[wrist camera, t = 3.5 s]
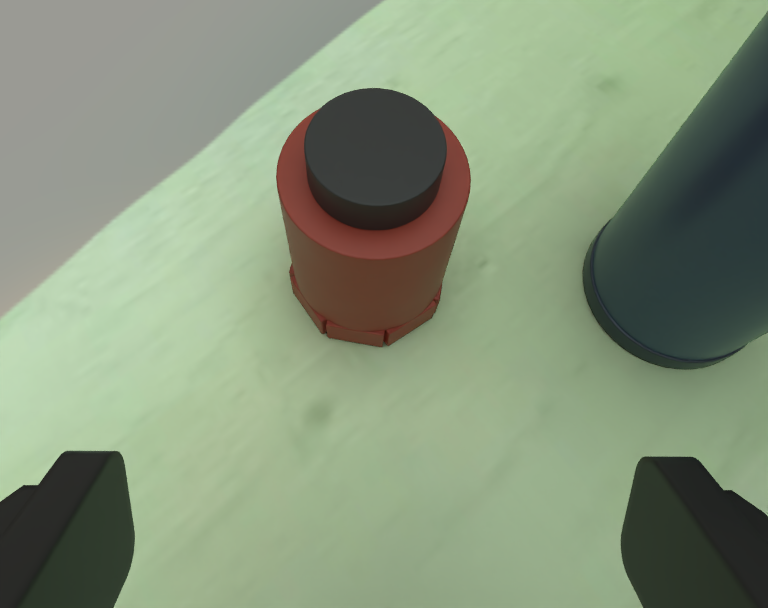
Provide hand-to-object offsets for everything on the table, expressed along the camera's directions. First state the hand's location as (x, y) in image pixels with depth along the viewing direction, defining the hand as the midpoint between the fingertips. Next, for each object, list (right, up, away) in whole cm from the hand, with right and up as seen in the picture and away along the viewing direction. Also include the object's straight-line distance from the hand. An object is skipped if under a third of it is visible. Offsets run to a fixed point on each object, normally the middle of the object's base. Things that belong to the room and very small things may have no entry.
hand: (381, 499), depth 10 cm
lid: (-1, +4, +18) cm, 19 cm away
